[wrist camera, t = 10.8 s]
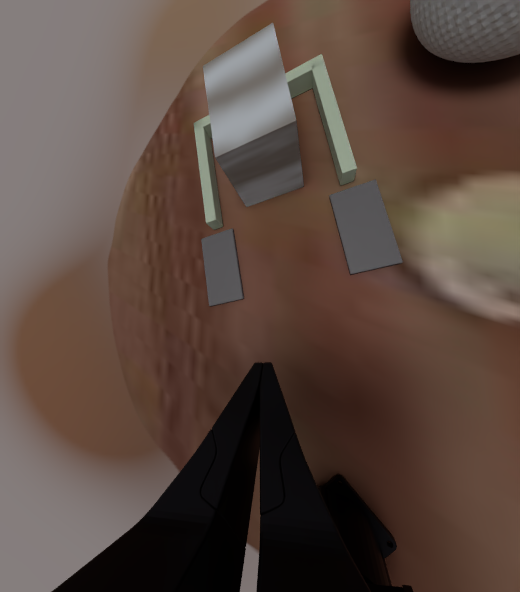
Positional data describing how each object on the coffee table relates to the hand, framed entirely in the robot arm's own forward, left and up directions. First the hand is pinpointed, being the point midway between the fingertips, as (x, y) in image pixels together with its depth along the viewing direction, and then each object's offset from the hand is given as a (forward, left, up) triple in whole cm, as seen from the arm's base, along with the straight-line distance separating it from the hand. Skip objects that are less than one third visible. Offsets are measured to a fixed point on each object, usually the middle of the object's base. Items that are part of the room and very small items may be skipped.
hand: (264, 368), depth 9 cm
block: (+20, -15, -14) cm, 28 cm away
